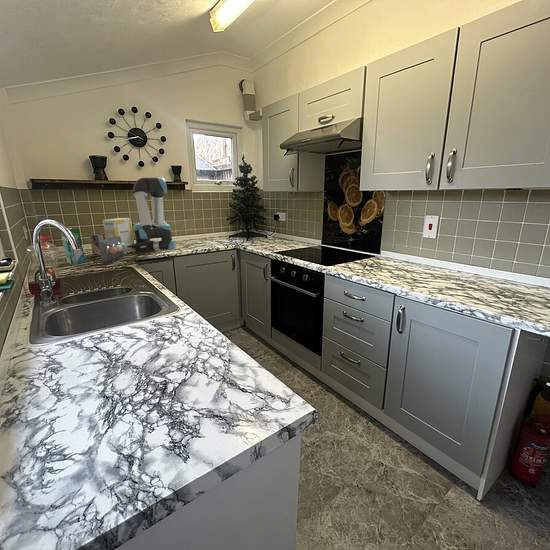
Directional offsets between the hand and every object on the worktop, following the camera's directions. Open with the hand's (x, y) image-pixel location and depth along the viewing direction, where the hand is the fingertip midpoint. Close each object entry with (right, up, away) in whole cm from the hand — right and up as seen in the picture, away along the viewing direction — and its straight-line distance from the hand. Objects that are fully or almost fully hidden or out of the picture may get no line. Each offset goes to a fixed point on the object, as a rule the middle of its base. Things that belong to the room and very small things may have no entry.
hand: (123, 246), depth 227 cm
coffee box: (-27, -5, +16) cm, 32 cm away
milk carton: (-29, -13, -11) cm, 34 cm away
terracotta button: (0, -6, -15) cm, 16 cm away
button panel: (-7, -11, -5) cm, 14 cm away
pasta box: (-11, -4, +19) cm, 22 cm away
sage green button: (-2, -2, +1) cm, 3 cm away
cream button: (0, -4, -7) cm, 8 cm away
